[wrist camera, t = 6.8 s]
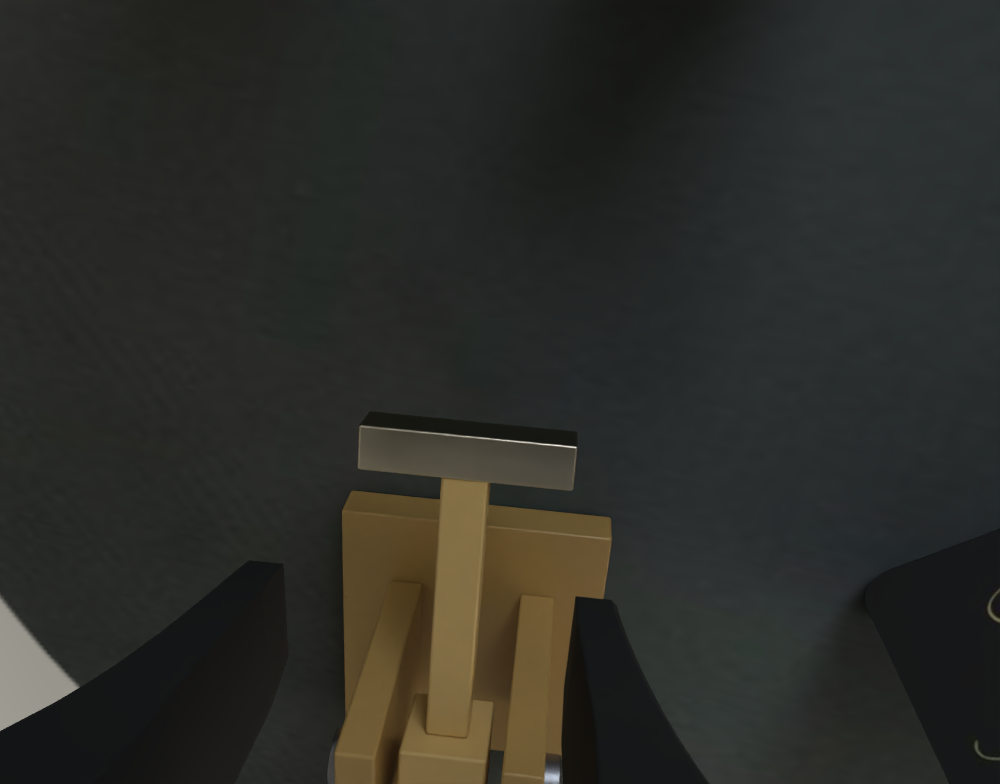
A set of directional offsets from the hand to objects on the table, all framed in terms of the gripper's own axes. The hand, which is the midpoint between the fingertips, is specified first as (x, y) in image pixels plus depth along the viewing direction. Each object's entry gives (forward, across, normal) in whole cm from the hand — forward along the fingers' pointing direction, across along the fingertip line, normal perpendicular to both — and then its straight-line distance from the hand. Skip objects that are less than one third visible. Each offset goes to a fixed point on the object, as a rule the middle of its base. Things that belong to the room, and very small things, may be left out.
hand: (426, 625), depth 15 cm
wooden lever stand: (+10, 0, +9) cm, 13 cm away
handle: (+6, 0, +5) cm, 8 cm away
